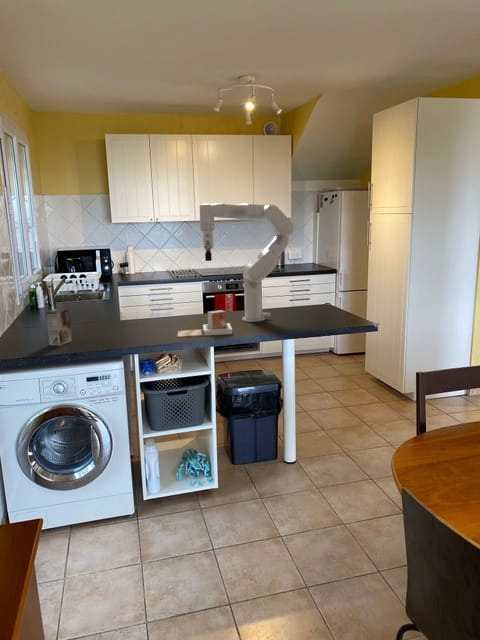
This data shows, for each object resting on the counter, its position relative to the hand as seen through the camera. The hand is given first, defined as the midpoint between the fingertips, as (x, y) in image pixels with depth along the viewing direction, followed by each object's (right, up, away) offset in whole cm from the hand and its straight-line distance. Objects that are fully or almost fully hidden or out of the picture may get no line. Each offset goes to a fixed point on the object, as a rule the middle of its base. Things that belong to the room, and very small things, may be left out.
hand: (208, 260), depth 261 cm
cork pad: (-8, -39, -17) cm, 44 cm away
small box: (+5, -39, -14) cm, 41 cm away
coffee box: (-69, -44, -28) cm, 86 cm away
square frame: (+5, -38, -14) cm, 41 cm away
